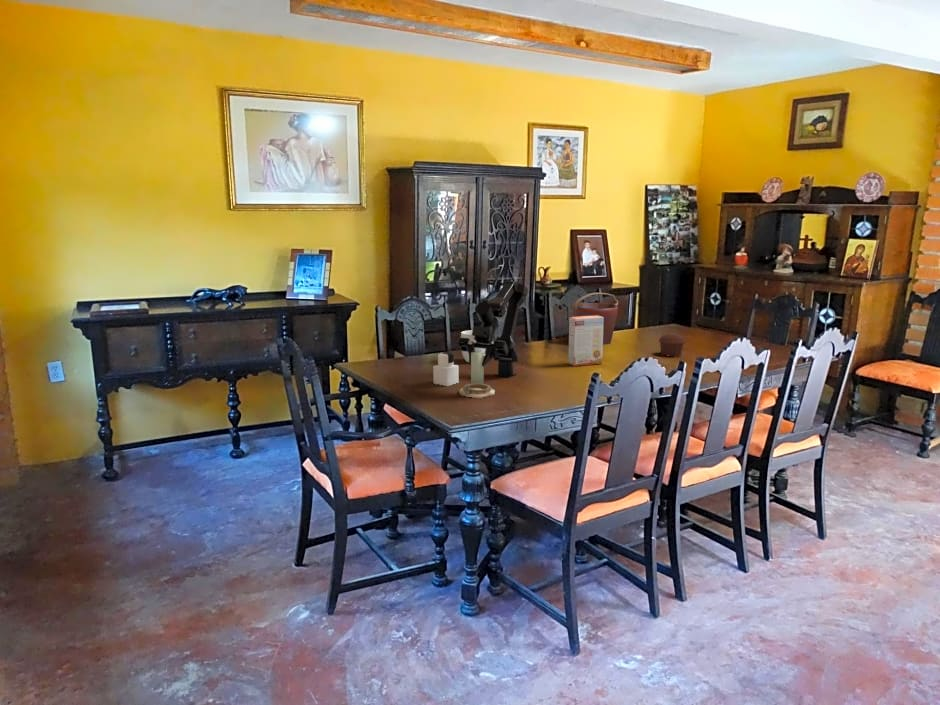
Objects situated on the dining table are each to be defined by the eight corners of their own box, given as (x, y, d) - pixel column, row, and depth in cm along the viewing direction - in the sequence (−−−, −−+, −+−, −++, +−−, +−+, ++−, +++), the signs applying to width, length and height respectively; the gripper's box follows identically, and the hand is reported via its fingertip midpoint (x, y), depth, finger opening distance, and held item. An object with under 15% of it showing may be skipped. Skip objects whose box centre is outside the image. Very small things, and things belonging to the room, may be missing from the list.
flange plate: (473, 386, 261) (473, 376, 260) (501, 392, 253) (501, 381, 252) (452, 394, 250) (452, 383, 250) (480, 400, 243) (480, 389, 242)
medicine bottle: (445, 380, 270) (445, 350, 268) (459, 383, 266) (458, 353, 263) (433, 383, 265) (432, 353, 262) (446, 386, 261) (446, 356, 258)
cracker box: (595, 361, 304) (597, 314, 299) (602, 364, 298) (604, 316, 294) (567, 363, 299) (568, 316, 295) (573, 366, 294) (575, 318, 289)
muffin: (686, 353, 319) (687, 332, 317) (681, 358, 309) (683, 336, 307) (660, 351, 324) (662, 330, 322) (655, 355, 315) (656, 334, 313)
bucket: (613, 337, 357) (615, 290, 352) (625, 346, 336) (627, 295, 331) (567, 338, 356) (568, 290, 351) (576, 346, 334) (577, 296, 329)
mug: (488, 357, 311) (488, 329, 308) (497, 362, 301) (497, 333, 298) (457, 359, 306) (457, 331, 303) (465, 364, 296) (465, 335, 293)
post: (479, 379, 254) (479, 351, 252) (486, 382, 250) (486, 353, 248) (468, 381, 252) (468, 352, 249) (475, 384, 248) (475, 354, 245)
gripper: (458, 316, 253) (446, 350, 246) (506, 319, 246) (494, 355, 239) (467, 333, 262) (455, 367, 255) (513, 336, 255) (502, 372, 248)
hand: (476, 365), depth 249 cm, fingers closed on post, 5 cm apart
